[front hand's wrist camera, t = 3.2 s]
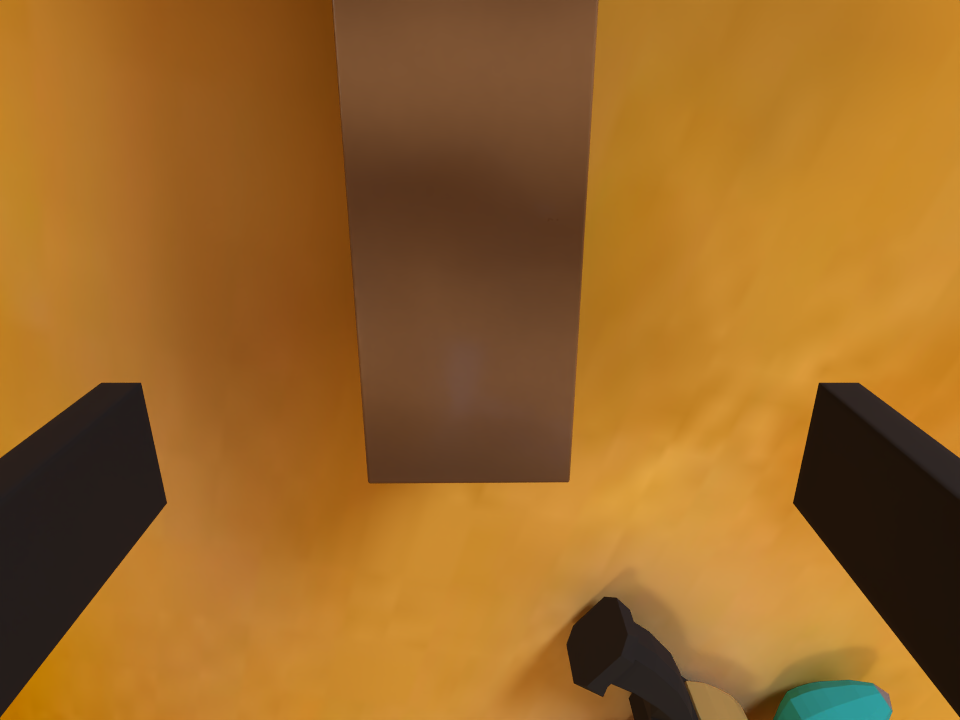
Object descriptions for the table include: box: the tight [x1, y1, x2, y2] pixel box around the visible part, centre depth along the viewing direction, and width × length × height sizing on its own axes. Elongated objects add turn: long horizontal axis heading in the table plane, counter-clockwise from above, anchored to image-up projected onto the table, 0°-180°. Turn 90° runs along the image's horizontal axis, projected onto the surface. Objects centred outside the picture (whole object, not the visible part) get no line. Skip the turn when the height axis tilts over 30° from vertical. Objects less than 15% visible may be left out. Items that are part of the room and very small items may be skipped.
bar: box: [332, 0, 598, 483], centre depth 18 cm, size 25×6×10 cm, turn 0°
